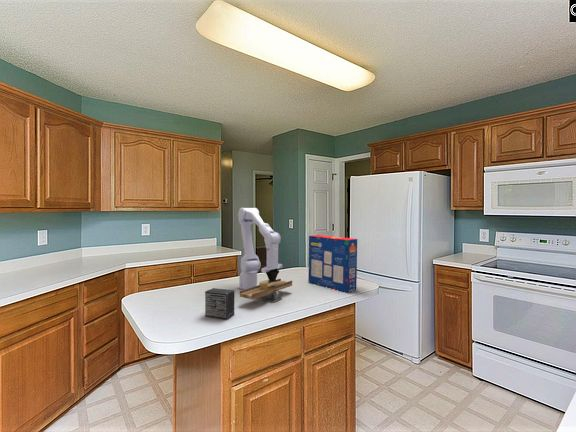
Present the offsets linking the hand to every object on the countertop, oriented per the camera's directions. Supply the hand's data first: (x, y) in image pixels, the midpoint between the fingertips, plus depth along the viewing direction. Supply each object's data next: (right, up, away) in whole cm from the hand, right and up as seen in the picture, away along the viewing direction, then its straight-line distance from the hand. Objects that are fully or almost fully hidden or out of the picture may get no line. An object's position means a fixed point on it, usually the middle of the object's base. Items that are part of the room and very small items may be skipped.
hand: (272, 284), depth 150 cm
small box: (-20, -7, -25) cm, 33 cm away
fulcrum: (-2, -6, -3) cm, 7 cm away
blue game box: (+32, -6, +21) cm, 39 cm away
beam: (-2, -2, -3) cm, 4 cm away
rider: (-2, -1, -4) cm, 4 cm away
